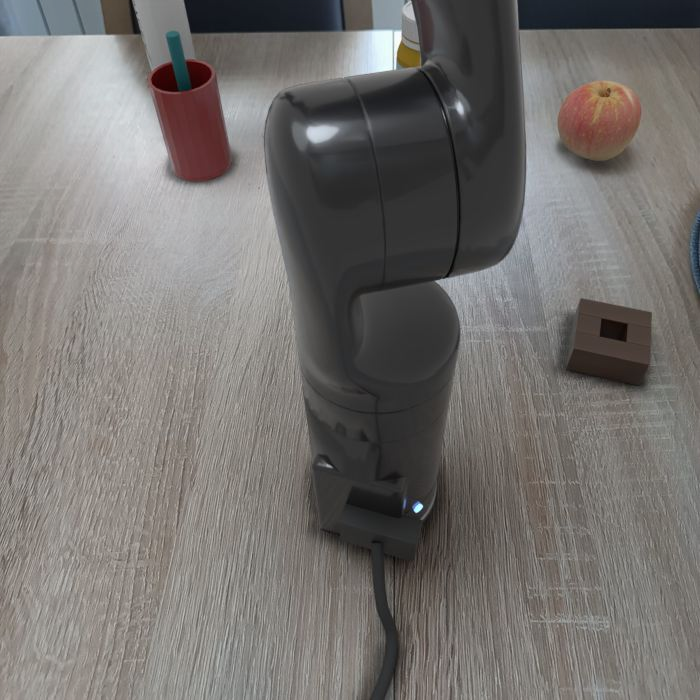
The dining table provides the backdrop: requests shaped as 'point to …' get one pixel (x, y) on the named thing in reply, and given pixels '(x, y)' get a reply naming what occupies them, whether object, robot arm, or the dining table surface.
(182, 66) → the straw
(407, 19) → the bottle
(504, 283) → the dining table surface
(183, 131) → the cup
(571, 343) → the block
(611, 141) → the apple
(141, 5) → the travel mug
